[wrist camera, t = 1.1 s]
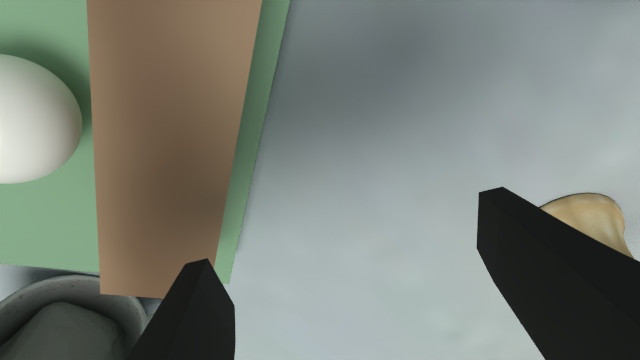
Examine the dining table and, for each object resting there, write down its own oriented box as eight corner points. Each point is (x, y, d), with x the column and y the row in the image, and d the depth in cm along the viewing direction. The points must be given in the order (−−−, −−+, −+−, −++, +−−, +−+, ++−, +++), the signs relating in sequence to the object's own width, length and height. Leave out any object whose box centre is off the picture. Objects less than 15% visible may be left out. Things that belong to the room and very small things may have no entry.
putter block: (264, -30, 12) (264, -14, 9) (216, 242, 18) (207, 302, 16) (129, -70, 11) (83, -66, 8) (127, 232, 17) (100, 293, 15)
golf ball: (98, 54, 13) (42, 99, 10) (101, 152, 15) (56, 217, 12) (-41, 24, 12) (-154, 64, 9) (-17, 134, 14) (-101, 199, 11)
